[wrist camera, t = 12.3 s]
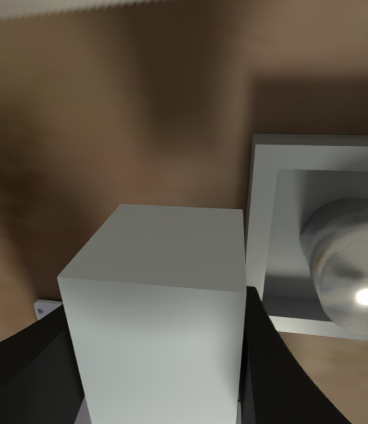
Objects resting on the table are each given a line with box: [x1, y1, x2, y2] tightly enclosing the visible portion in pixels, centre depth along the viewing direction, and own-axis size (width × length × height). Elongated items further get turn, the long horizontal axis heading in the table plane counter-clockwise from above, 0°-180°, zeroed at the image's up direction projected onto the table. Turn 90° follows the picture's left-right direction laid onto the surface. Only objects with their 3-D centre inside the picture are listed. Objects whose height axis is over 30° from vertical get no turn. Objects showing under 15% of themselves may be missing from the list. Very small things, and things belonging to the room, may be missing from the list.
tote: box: [244, 134, 368, 340], centre depth 18 cm, size 12×12×3 cm
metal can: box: [300, 197, 368, 336], centre depth 16 cm, size 5×5×5 cm
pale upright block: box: [57, 204, 247, 424], centre depth 11 cm, size 7×5×5 cm
